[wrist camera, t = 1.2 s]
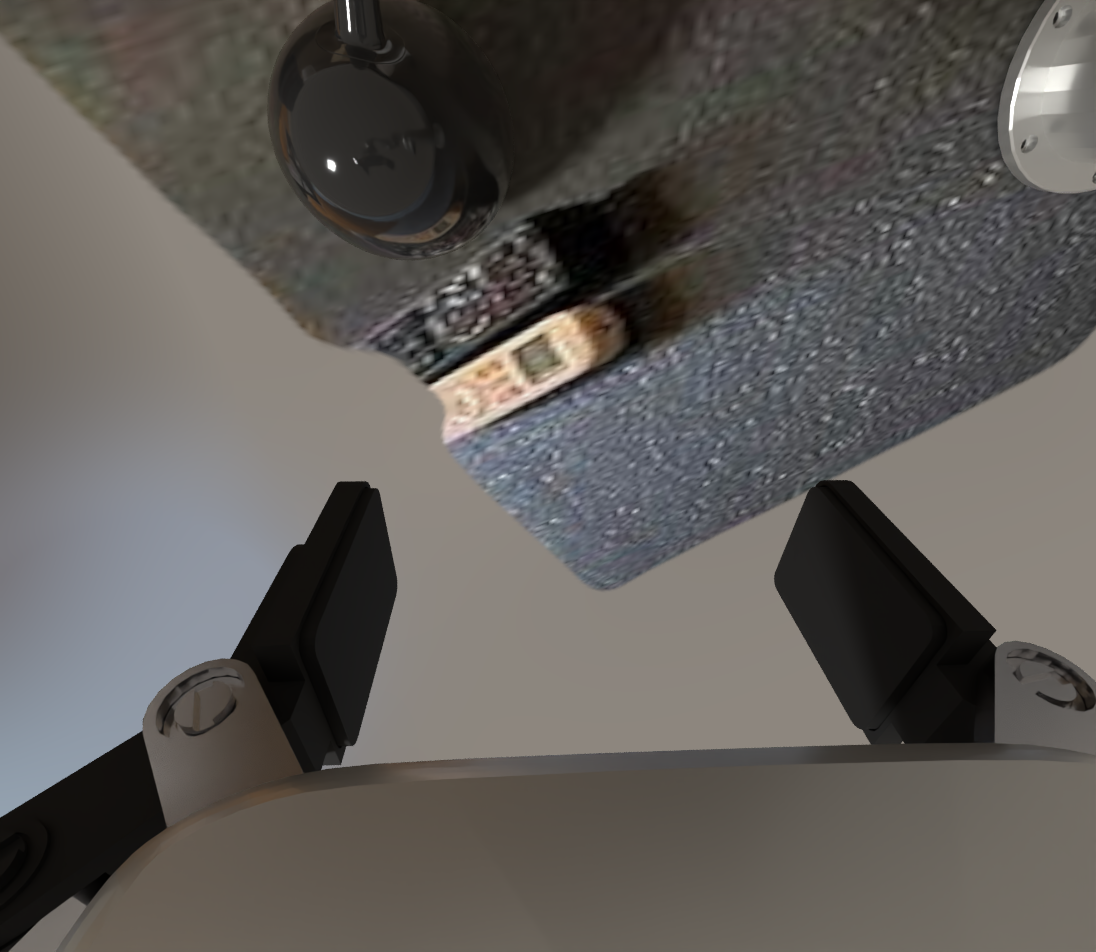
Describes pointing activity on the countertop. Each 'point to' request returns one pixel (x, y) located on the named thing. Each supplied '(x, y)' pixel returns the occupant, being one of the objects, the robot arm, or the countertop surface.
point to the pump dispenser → (391, 127)
